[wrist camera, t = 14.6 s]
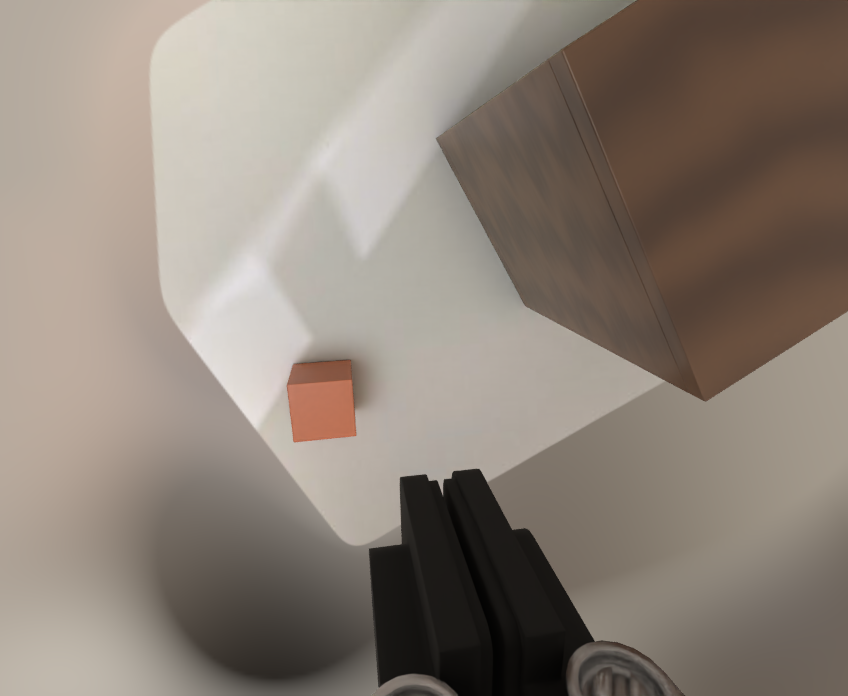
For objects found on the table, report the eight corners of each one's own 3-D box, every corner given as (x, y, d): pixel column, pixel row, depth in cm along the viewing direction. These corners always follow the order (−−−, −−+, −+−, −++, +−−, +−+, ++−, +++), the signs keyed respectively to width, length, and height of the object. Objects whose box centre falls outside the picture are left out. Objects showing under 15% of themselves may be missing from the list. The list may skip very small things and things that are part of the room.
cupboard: (435, 138, 41) (560, 49, 18) (689, -27, 40) (1154, -336, 17) (525, 306, 47) (705, 402, 24) (746, 164, 46) (1147, 121, 23)
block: (298, 416, 46) (293, 442, 41) (292, 363, 44) (286, 384, 39) (354, 410, 47) (356, 436, 42) (350, 359, 45) (352, 379, 40)
